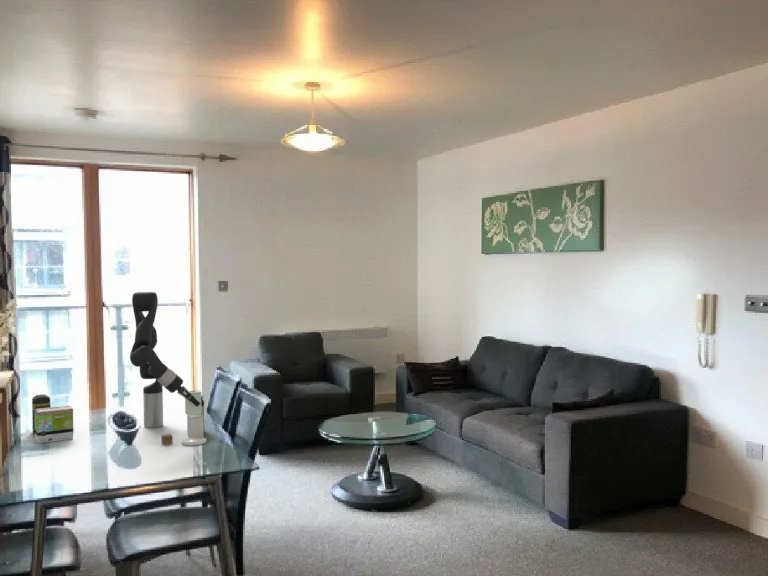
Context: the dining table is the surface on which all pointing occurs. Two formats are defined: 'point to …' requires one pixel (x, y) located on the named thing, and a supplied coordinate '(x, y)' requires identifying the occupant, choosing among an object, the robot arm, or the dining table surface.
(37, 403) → the coffee jar
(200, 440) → the dish
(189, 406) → the pale grey boxy piece
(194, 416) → the tall white lidded box
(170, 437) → the block
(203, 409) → the travel mug
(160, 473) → the dining table surface
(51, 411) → the tea box
